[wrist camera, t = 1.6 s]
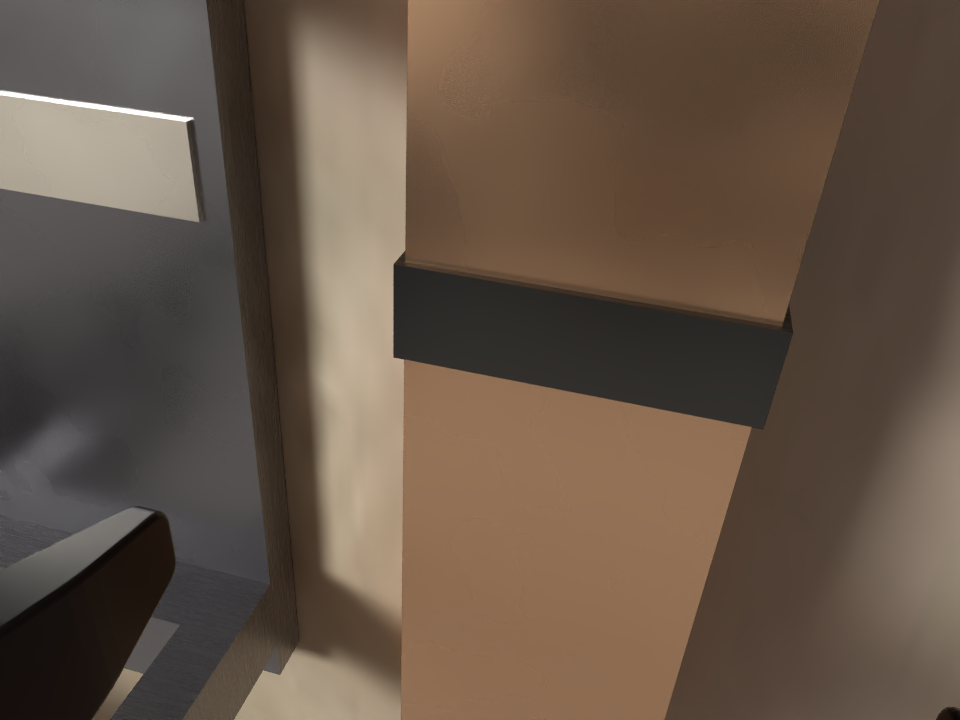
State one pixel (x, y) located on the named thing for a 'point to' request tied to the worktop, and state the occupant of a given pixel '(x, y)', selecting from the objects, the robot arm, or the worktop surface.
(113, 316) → the collar stand
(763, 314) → the banded tan post
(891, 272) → the worktop surface
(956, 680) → the worktop surface
